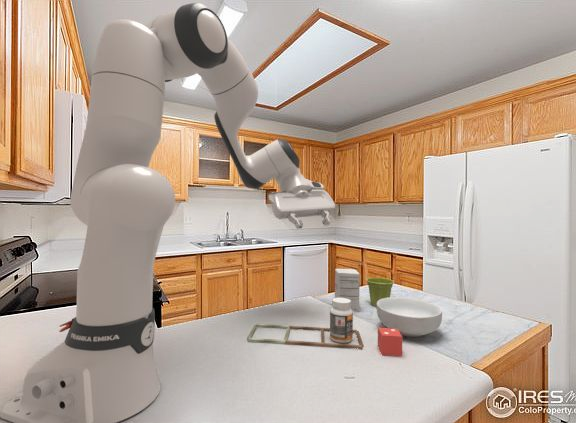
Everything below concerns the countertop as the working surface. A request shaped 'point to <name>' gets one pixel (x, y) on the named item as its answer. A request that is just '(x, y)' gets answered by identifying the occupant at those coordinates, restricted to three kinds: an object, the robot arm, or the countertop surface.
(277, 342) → the track frame
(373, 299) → the plant pot
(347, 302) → the pill bottle
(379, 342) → the red die
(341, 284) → the supplement box
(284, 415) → the countertop surface
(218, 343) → the countertop surface
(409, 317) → the cereal bowl
